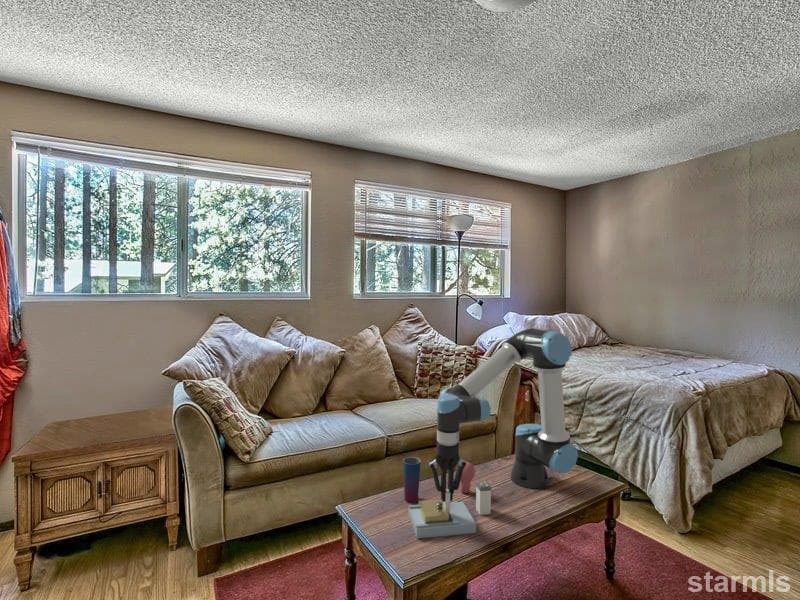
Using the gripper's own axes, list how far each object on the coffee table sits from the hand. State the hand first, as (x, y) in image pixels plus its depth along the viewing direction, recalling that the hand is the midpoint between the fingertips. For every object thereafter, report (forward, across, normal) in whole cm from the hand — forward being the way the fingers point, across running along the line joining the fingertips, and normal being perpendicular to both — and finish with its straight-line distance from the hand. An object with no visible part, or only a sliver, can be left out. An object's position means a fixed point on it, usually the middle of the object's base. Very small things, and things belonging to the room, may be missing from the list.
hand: (446, 509), depth 142 cm
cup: (+5, +9, -17) cm, 20 cm away
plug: (+5, -15, -5) cm, 17 cm away
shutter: (+1, +5, 0) cm, 5 cm away
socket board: (+5, +2, 0) cm, 5 cm away
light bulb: (+5, -13, -19) cm, 24 cm away
